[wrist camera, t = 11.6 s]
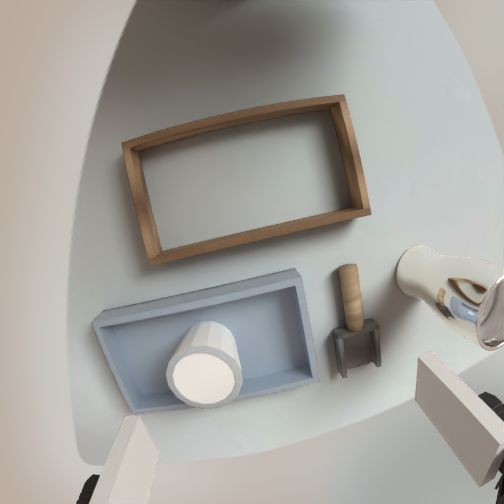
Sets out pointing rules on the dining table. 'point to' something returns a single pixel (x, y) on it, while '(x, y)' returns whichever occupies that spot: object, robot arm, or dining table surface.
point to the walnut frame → (234, 119)
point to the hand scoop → (355, 327)
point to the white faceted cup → (206, 367)
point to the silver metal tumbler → (457, 292)
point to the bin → (219, 311)
